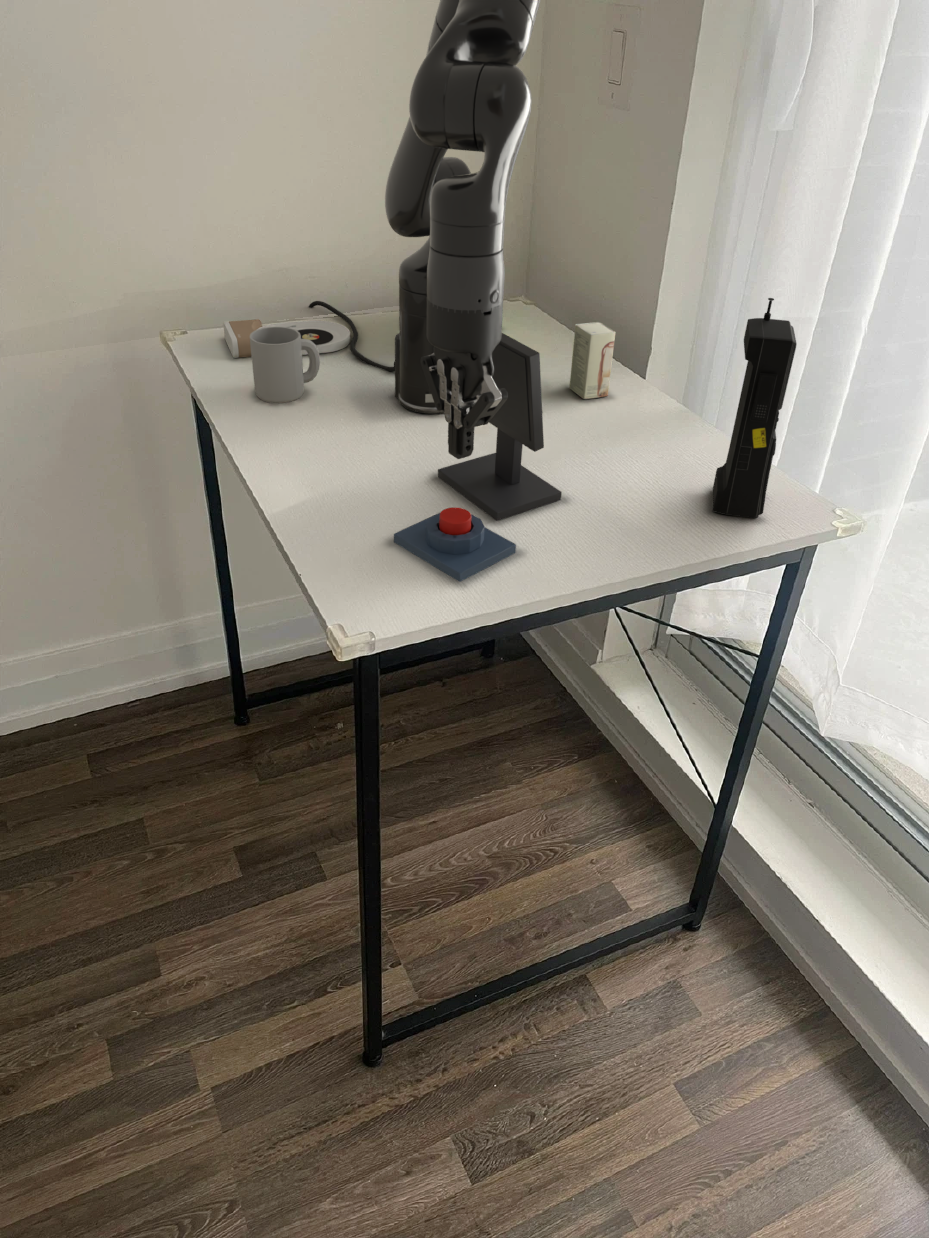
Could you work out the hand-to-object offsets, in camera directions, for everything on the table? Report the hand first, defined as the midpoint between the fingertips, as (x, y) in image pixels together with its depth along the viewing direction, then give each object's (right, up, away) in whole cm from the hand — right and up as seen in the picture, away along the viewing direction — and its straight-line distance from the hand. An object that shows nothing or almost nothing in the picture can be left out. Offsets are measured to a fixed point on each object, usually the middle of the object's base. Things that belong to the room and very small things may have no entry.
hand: (460, 455), depth 105 cm
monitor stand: (+4, -1, +19) cm, 19 cm away
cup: (-26, +16, +40) cm, 51 cm away
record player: (-29, +28, +56) cm, 69 cm away
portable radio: (+35, -4, +17) cm, 39 cm away
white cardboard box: (+19, +17, +44) cm, 51 cm away
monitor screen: (+5, +6, +14) cm, 16 cm away
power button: (-1, -7, +6) cm, 9 cm away
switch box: (-1, -9, +7) cm, 12 cm away
